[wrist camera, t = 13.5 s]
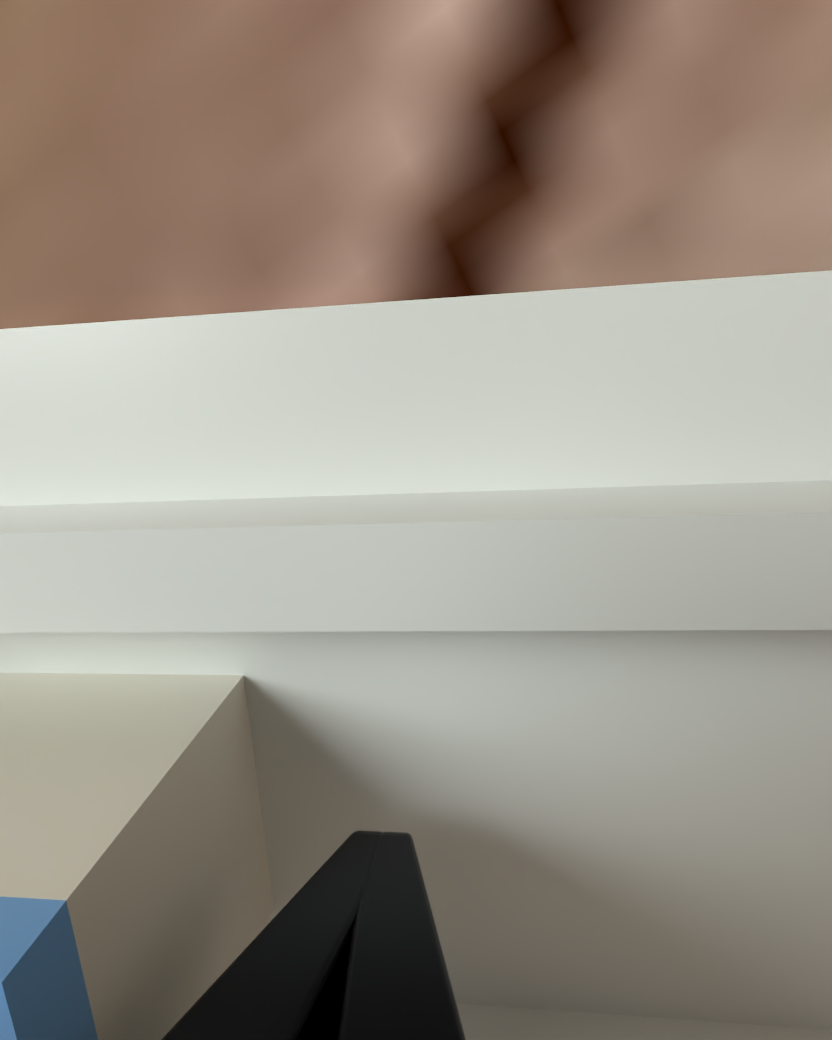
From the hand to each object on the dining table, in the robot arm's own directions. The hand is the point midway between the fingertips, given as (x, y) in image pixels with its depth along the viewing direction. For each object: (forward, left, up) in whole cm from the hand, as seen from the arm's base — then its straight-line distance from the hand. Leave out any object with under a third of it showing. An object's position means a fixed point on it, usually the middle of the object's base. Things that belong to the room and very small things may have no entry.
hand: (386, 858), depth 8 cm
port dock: (0, +1, -1) cm, 2 cm away
